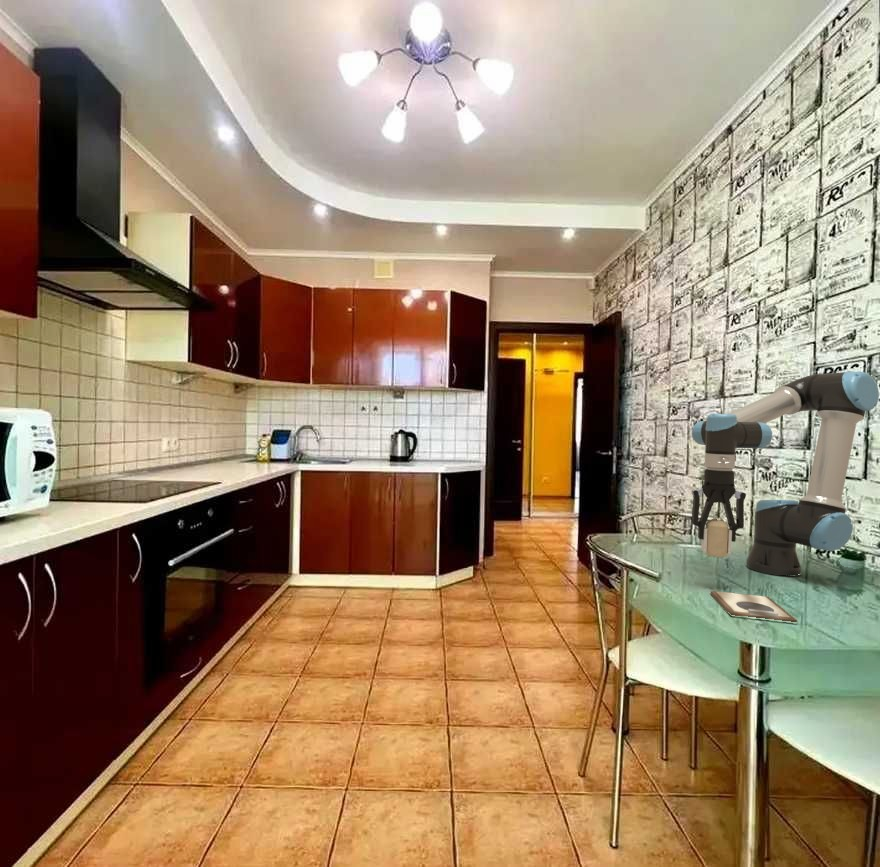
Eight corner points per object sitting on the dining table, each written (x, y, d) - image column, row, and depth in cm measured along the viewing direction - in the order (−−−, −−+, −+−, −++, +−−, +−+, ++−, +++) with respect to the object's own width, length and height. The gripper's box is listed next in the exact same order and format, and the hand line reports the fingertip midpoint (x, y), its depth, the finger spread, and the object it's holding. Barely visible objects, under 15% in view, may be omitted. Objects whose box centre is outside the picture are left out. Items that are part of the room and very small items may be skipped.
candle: (700, 552, 153) (702, 517, 153) (719, 552, 154) (720, 517, 153) (712, 557, 148) (713, 521, 147) (731, 557, 148) (732, 521, 148)
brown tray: (767, 600, 142) (768, 592, 142) (797, 624, 125) (797, 616, 125) (710, 594, 145) (710, 586, 145) (730, 617, 128) (731, 608, 128)
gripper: (686, 468, 148) (683, 552, 149) (761, 472, 144) (757, 557, 145) (680, 466, 156) (677, 546, 156) (751, 469, 152) (747, 551, 152)
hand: (715, 551), depth 151 cm, fingers closed on candle, 5 cm apart
